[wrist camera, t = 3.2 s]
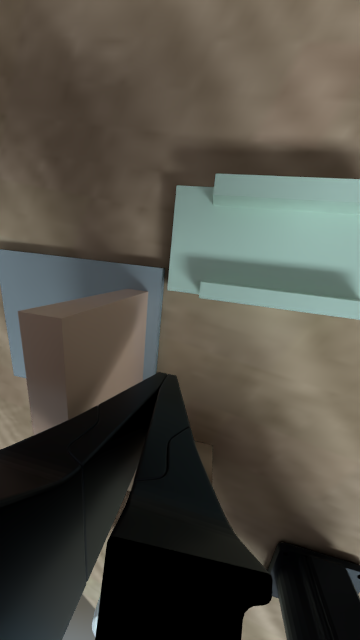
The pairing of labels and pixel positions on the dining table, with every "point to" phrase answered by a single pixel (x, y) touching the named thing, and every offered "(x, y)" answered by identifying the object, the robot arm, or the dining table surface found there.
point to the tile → (82, 353)
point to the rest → (270, 243)
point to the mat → (74, 292)
